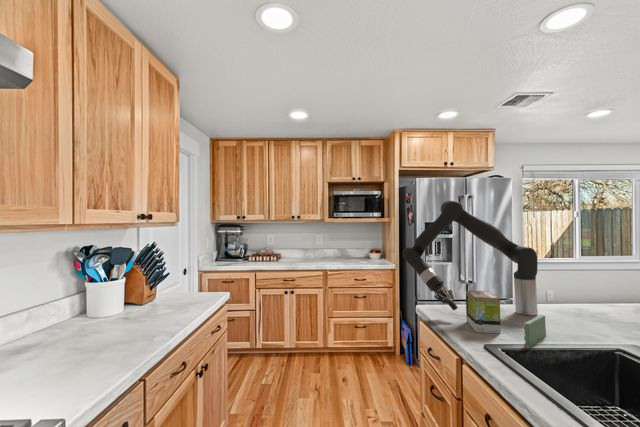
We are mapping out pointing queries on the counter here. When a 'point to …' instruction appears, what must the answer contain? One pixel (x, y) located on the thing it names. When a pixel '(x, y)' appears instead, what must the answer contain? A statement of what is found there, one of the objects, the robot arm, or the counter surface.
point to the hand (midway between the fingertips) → (455, 309)
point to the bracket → (534, 330)
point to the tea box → (483, 311)
